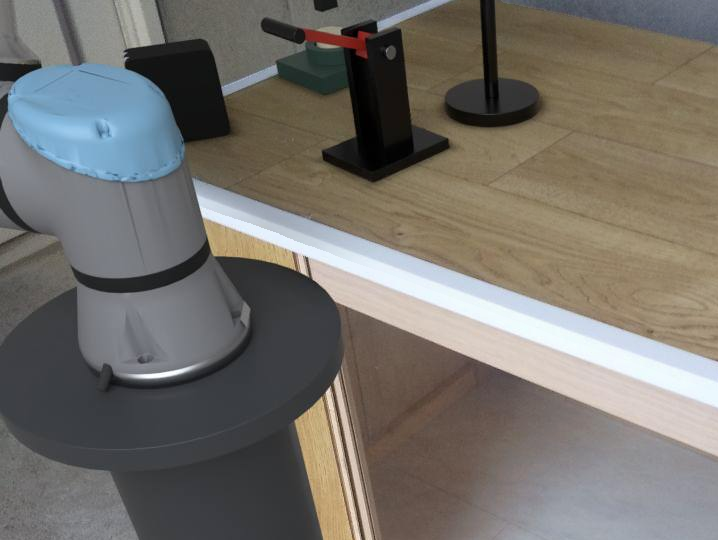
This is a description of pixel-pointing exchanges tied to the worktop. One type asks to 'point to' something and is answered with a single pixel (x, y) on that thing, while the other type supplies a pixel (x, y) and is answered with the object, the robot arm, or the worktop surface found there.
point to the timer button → (329, 30)
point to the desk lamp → (491, 87)
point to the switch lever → (314, 36)
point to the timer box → (315, 68)
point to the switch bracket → (380, 110)
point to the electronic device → (185, 84)
